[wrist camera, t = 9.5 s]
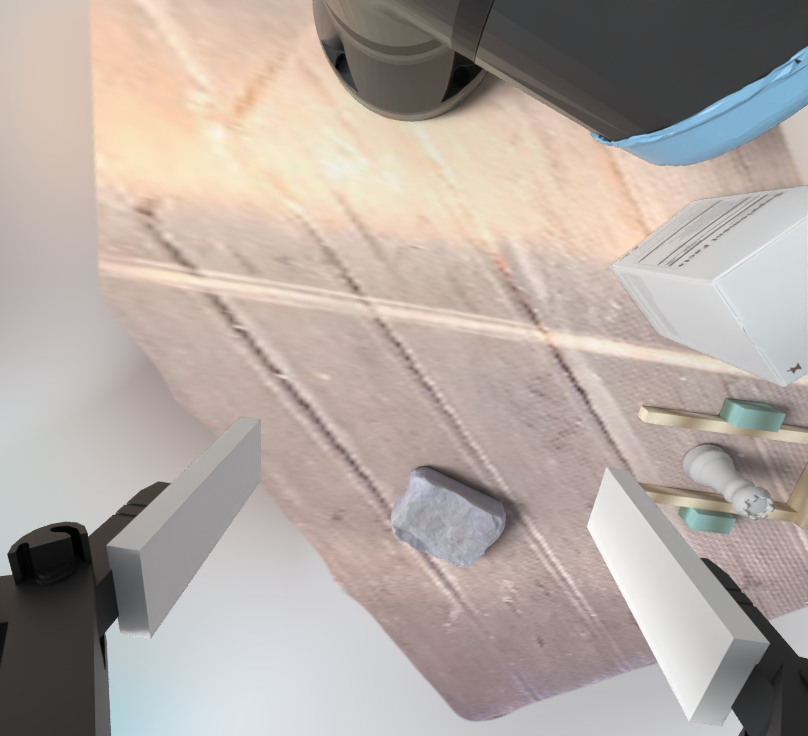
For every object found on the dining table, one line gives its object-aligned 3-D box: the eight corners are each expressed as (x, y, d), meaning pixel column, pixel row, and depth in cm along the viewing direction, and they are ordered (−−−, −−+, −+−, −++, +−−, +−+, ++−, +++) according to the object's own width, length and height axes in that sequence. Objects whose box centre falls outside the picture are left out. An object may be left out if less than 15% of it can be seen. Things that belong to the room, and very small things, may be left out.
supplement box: (746, 275, 37) (940, 301, 23) (657, 336, 39) (784, 394, 25) (696, 195, 35) (872, 170, 21) (606, 264, 38) (711, 283, 23)
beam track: (607, 503, 46) (617, 518, 43) (647, 388, 41) (660, 397, 39) (785, 528, 45) (804, 545, 43) (845, 414, 41) (871, 425, 38)
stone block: (468, 545, 51) (511, 498, 46) (466, 579, 47) (513, 532, 42) (386, 505, 51) (420, 454, 46) (377, 537, 47) (413, 484, 42)
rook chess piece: (671, 471, 44) (723, 521, 36) (692, 437, 42) (750, 481, 35) (709, 482, 44) (768, 534, 36) (731, 448, 43) (797, 495, 35)
